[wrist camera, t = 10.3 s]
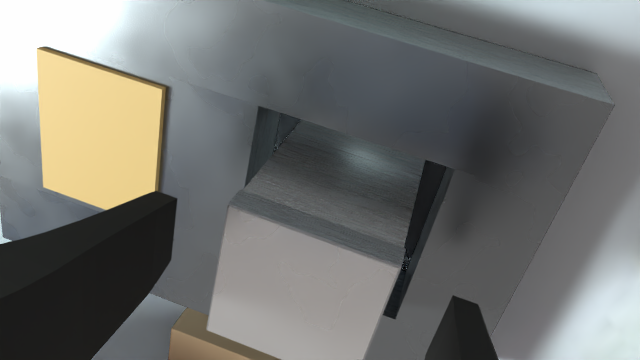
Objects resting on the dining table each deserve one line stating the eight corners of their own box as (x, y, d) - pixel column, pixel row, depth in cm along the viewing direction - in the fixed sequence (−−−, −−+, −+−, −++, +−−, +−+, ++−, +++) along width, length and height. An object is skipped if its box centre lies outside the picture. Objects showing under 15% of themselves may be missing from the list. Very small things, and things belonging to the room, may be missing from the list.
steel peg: (390, 255, 19) (352, 389, 14) (280, 215, 20) (205, 330, 14) (428, 154, 17) (401, 267, 12) (304, 112, 17) (227, 204, 12)
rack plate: (455, 353, 20) (451, 413, 18) (49, 204, 22) (-2, 240, 20) (596, 73, 15) (616, 107, 12) (36, -90, 17) (-37, -87, 14)
